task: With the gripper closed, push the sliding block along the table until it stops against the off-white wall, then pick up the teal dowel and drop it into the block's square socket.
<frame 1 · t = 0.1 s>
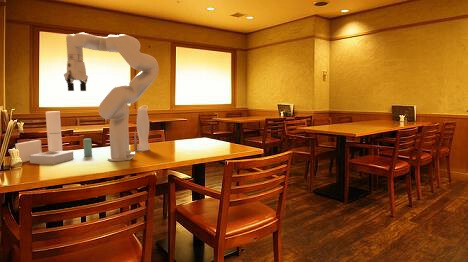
hand: (77, 90, 172), 37 cm above the table, tool pointing down, fingers open, 9 cm apart
dowel: (88, 156, 178), on the table
cylindrical container: (55, 154, 187), on the table
white bottle: (143, 150, 197), on the table
socket block: (52, 157, 166), point 2 cm above the table, slide at 0.0 cm
wall: (30, 160, 169), on the table
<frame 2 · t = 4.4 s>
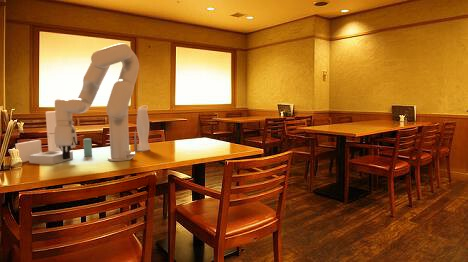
hand: (66, 158, 164), 2 cm above the table, tool pointing down, fingers closed
socket block: (51, 157, 166), point 2 cm above the table, slide at 0.3 cm, touching gripper
everything else where it was.
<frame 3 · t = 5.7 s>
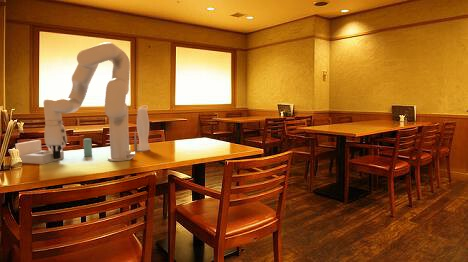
hand: (57, 158, 165), 2 cm above the table, tool pointing down, fingers closed
socket block: (42, 156, 167), point 2 cm above the table, slide at 6.0 cm, touching gripper, wall
everything else where it was.
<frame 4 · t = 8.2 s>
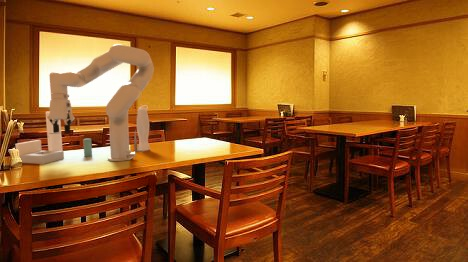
hand: (61, 132, 163), 16 cm above the table, tool pointing down, fingers open, 6 cm apart
socket block: (42, 156, 167), point 2 cm above the table, slide at 6.0 cm, touching wall
everything else where it was.
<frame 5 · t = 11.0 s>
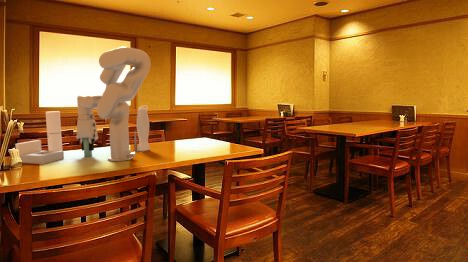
hand: (87, 149, 178), 4 cm above the table, tool pointing down, fingers closed on dowel, 4 cm apart
dowel: (88, 156, 178), on the table, touching gripper
everything else where it was.
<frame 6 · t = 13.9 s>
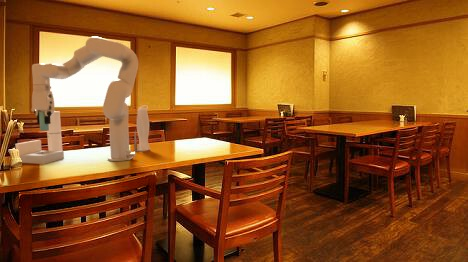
hand: (43, 123, 166), 20 cm above the table, tool pointing down, fingers closed on dowel, 4 cm apart
dowel: (44, 130, 167), point 16 cm above the table, touching gripper
everything else where it was.
when the fingers open (6 cm above the table, at t = 17.0 s): dowel stays where it is, resting on socket block.
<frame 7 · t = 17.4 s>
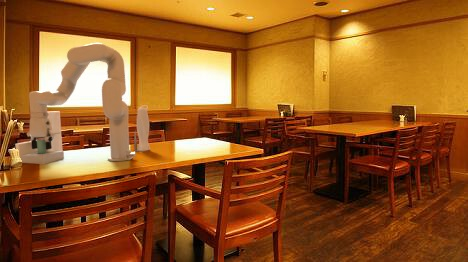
hand: (41, 148, 167), 7 cm above the table, tool pointing down, fingers open, 8 cm apart
dowel: (42, 158, 167), point 1 cm above the table, touching socket block
socket block: (42, 156, 167), point 2 cm above the table, slide at 6.0 cm, touching dowel
everything else where it was.
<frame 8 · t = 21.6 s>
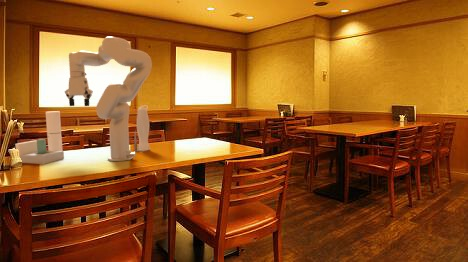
hand: (79, 105, 179), 28 cm above the table, tool pointing down, fingers open, 9 cm apart
nothing on the table moved.
at the end: socket block slide at 6.0 cm; dowel 0.1 cm off-centre on the socket block, point 1.0 cm above the socket block's base; dowel tilted 1° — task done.
